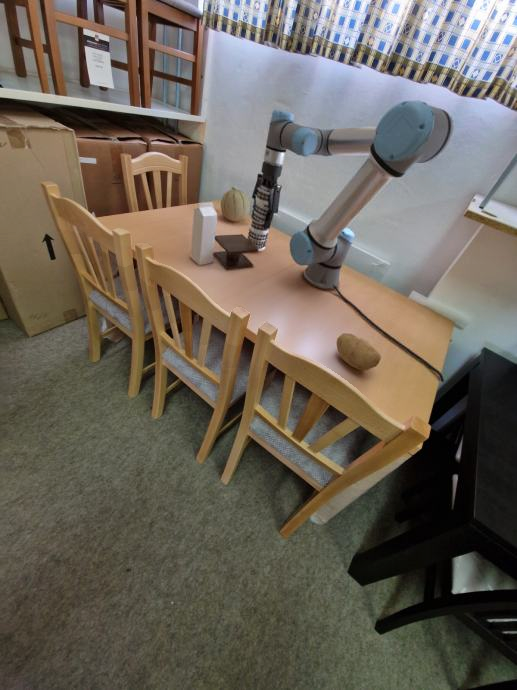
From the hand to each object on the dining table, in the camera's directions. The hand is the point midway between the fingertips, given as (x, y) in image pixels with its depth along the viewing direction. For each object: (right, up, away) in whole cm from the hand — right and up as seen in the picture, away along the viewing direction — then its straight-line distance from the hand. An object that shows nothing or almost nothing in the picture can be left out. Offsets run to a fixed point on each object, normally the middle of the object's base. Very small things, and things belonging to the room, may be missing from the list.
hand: (260, 223), depth 124 cm
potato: (+28, -57, -33) cm, 71 cm away
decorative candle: (-2, -8, +7) cm, 11 cm away
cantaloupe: (-14, +13, +27) cm, 33 cm away
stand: (-11, -17, -3) cm, 21 cm away
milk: (-23, -18, -8) cm, 31 cm away
